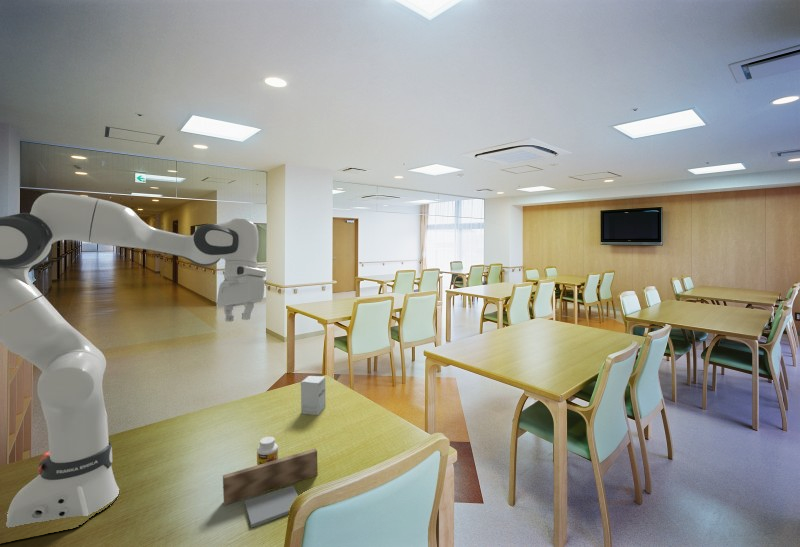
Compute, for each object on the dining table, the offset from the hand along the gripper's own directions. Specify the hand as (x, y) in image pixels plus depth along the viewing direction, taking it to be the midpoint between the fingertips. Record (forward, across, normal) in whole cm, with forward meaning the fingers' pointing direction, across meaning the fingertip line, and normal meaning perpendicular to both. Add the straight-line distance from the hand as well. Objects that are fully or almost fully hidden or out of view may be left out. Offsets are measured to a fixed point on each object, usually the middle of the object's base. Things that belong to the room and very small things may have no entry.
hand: (237, 320), depth 107 cm
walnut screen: (+45, +9, +9) cm, 46 cm away
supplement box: (+32, -19, +44) cm, 57 cm away
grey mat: (+47, +15, +5) cm, 49 cm away
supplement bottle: (+43, +3, +11) cm, 45 cm away
